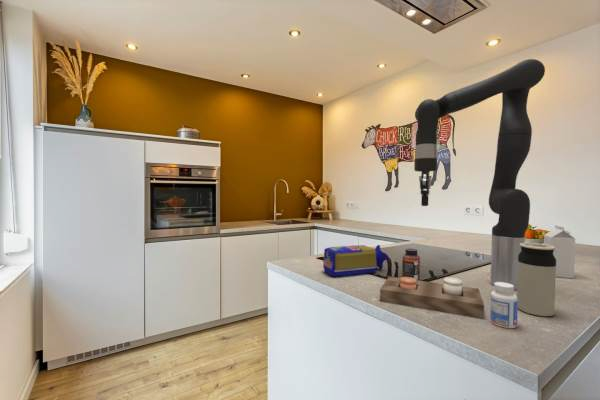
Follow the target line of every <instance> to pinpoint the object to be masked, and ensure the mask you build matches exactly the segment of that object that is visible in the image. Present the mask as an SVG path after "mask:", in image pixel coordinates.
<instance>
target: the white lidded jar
mask: <svg viewBox="0 0 600 400" xmlns="http://www.w3.org/2000/svg"><path fill="white" fill-rule="evenodd" d="M443 284H444V294H448V295H455V296H462V286H463V280H462V279H460V278H458V277H457V278H456V277H450V276H446V277H444V278H443Z"/></svg>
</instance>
